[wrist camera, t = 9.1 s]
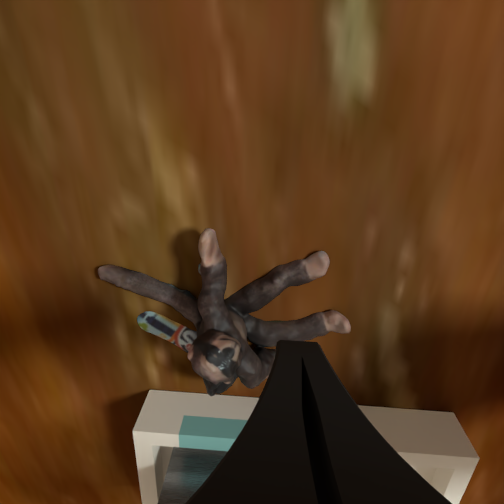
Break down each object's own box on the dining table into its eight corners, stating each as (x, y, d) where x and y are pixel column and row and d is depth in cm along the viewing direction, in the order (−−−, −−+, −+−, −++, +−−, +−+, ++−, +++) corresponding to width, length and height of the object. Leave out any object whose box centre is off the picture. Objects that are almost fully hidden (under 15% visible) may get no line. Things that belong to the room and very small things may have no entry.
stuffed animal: (357, 373, 23) (192, 489, 18) (273, 313, 31) (142, 383, 26) (342, 203, 19) (114, 299, 14) (247, 184, 27) (82, 240, 22)
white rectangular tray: (453, 412, 25) (479, 458, 22) (412, 521, 31) (428, 571, 28) (149, 389, 26) (132, 430, 23) (160, 500, 31) (147, 546, 28)
